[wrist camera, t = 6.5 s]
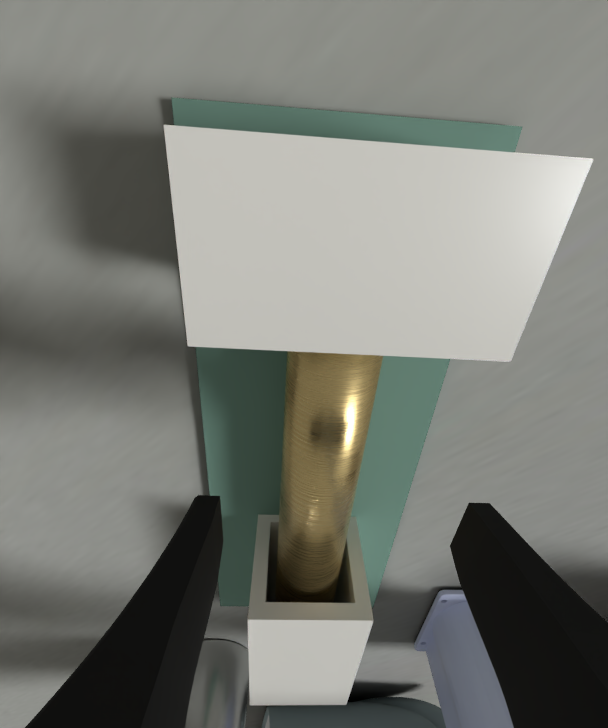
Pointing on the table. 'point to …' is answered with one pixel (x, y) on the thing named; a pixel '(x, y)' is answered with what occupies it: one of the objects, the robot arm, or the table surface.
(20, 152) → the table surface
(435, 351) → the socket
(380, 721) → the pencil case
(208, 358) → the mat
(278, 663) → the sleeve
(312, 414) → the tube
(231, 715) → the white tall cylinder
